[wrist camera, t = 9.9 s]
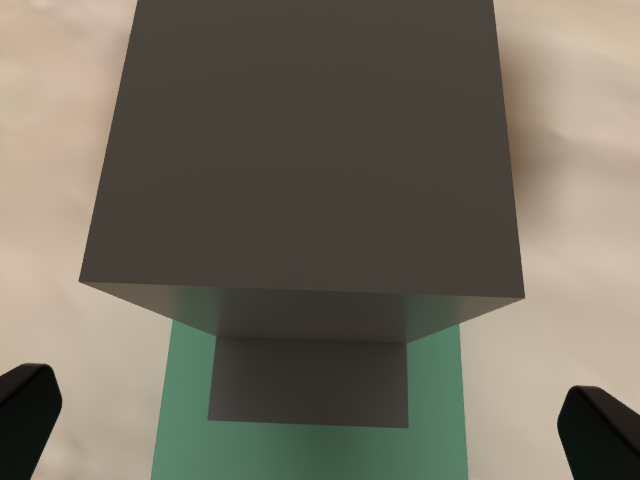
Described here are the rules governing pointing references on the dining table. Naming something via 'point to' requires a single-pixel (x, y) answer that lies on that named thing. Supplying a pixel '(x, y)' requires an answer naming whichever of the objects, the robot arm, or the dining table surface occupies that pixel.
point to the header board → (311, 426)
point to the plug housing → (309, 193)
